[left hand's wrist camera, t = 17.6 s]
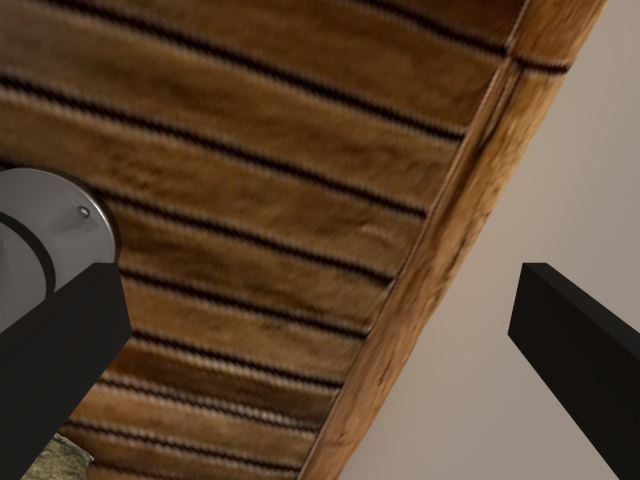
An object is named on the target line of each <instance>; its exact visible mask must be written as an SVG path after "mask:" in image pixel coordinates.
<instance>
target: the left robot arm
mask: <svg viewBox="0 0 640 480" xmlns="http://www.w3.org/2000/svg"><path fill="white" fill-rule="evenodd" d="M120 248H121V243H120V235H119V230H118V227H117V224H116V222H115V219H114V217H113V215H112V213H111V212H110V210H109V208H108V207H107V205H106V204H105V203H104V201H103V200H102V199H101V198H100V197H99V196H98V195H97V194H96V193H95V192H94V191H93V190H92V189H91V188H90V187H88V186H87V185H86V184H84V183H83V182H82V181H80V180H78V179H77V178H75V177H73V176H71V175H69V174H67V173H65V172H62V171H59V170H56V169H53V168H48V167H42V166H24V167H18V168H14V169H10V170H6V171H3V172H0V480H21V478H22V477H23V476H24V474H25V473H26V472H27V471H28V469H29V468H30V467H31V465H32V464H33V463H34V461H35V460H36V459H37V458H38V456H39V455H40V454H41V452H42V451H43V450H44V449H45V447H46V446H47V445H48V443H49V442H50V441H51V439H52V438H53V437H54V436H55V434H56V433H57V432H58V430H59V429H60V428H61V426H62V425H63V424H64V423H65V421H66V420H67V419H68V417H69V416H70V415H71V414H72V412H73V411H74V410H75V408H76V407H77V406H78V404H79V403H80V402H81V401H82V399H83V398H84V397H85V395H86V394H87V393H88V391H89V390H90V389H91V388H92V386H93V385H94V384H95V382H96V381H97V380H98V379H99V377H100V376H101V375H102V373H103V372H104V371H105V369H106V368H107V367H108V366H109V364H110V363H111V362H112V360H113V359H114V358H115V356H116V355H117V354H118V353H119V351H120V350H121V349H122V347H123V346H124V345H125V343H126V342H127V341H128V340H129V338H130V337H131V336H132V330H131V325H130V320H129V316H128V311H127V306H126V302H125V297H124V292H123V288H122V283H121V278H120V274H119V269H118V264H117V263H118V260H119V256H120ZM508 336H509V337H510V338H511V340H512V341H513V342H514V343H515V345H516V346H517V347H518V349H519V350H520V351H521V353H522V354H523V355H524V356H525V358H526V359H527V360H528V362H529V363H530V364H531V366H532V367H533V368H534V369H535V371H536V372H537V373H538V375H539V376H540V377H541V379H542V380H543V381H544V382H545V384H546V385H547V386H548V388H549V389H550V390H551V391H552V393H553V394H554V395H555V397H556V398H557V399H558V400H559V402H560V403H561V404H562V406H563V407H564V408H565V410H566V411H567V412H568V414H569V415H570V416H571V417H572V419H573V420H574V421H575V423H576V424H577V425H578V426H579V428H580V429H581V430H582V432H583V433H584V434H585V436H586V437H587V438H588V439H589V441H590V442H591V443H592V445H593V446H594V447H595V448H596V450H597V451H598V452H599V454H600V455H601V456H602V458H603V459H604V460H605V461H606V463H607V464H608V465H609V467H610V468H611V469H612V471H613V472H614V473H615V474H616V476H617V477H618V478H619V480H640V333H639V332H637V331H636V330H635V329H633V328H632V327H631V326H629V325H628V324H627V323H625V322H624V321H623V320H621V319H620V318H619V317H617V316H616V315H615V314H613V313H612V312H611V311H609V310H608V309H607V308H606V307H604V306H603V305H602V304H600V303H599V302H598V301H596V300H595V299H594V298H592V297H591V296H590V295H588V294H587V293H586V292H584V291H583V290H582V289H580V288H579V287H578V286H576V285H575V284H574V283H573V282H571V281H570V280H569V279H567V278H566V277H565V276H563V275H562V274H561V273H559V272H558V271H557V270H555V269H554V268H553V267H551V266H550V265H549V264H547V263H523V264H522V269H521V274H520V278H519V283H518V288H517V292H516V297H515V302H514V306H513V311H512V316H511V321H510V325H509V330H508Z"/></svg>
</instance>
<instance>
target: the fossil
mask: <svg viewBox="0 0 640 480" xmlns="http://www.w3.org/2000/svg"><path fill="white" fill-rule="evenodd" d="M93 460H94V458H93V457H92V456H91V455H90V454H89V453H88V452H86V451H84V450H83V449H81V448H80V447H79V446H77V445H76V444H74V443H73V442H71V441H70V440H68V439H67V438H65V437H62V436H60V435H59V434H58V433H56V434H55V436H54V437H53V438H52V439H51V441H50V442H49V443H48V445H47V446H46V447H45V449H44V450H43V451H42V452H41V454H40V455H39V456H38V458H37V459H36V460H35V461H34V463H33V464H32V465H31V467H30V468H29V469H28V471H27V472H26V473H25V474H24V476H23V477H22V478H21V480H90V479H89V476H88V472H87V470H88V468H89V465H90V464H91V462H92V461H93Z"/></svg>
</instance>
